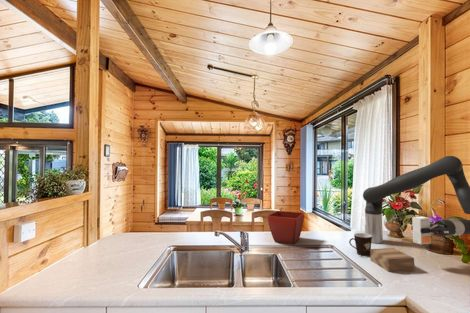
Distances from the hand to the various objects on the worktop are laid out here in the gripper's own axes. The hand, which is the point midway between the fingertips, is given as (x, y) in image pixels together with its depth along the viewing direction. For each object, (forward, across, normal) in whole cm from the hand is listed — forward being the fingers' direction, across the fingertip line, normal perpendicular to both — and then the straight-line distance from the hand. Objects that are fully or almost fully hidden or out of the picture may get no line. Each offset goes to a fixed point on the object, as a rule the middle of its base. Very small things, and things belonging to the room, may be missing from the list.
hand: (416, 229), depth 122 cm
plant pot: (+47, -51, +18) cm, 72 cm away
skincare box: (-3, 0, +7) cm, 7 cm away
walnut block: (+11, -3, +17) cm, 21 cm away
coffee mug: (+16, -20, +17) cm, 31 cm away
